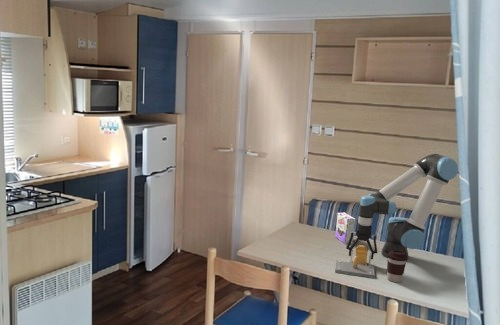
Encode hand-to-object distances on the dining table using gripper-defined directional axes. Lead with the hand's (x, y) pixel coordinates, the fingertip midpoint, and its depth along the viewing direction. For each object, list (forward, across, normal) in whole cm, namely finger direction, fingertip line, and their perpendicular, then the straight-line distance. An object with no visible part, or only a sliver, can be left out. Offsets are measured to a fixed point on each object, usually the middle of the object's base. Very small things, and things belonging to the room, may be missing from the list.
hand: (360, 263), depth 269 cm
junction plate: (0, +3, +12) cm, 12 cm away
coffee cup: (0, -17, +17) cm, 24 cm away
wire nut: (0, 0, 0) cm, 0 cm away
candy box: (0, +10, -38) cm, 39 cm away
